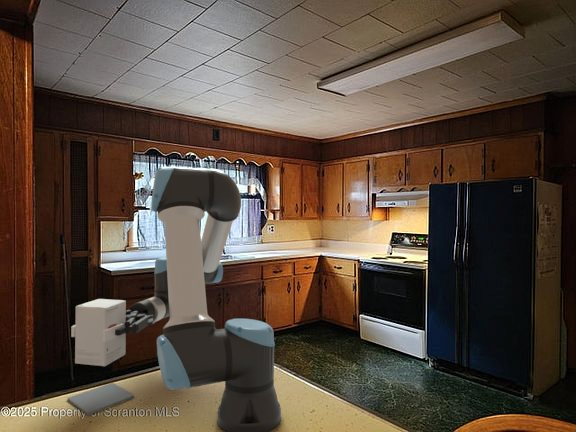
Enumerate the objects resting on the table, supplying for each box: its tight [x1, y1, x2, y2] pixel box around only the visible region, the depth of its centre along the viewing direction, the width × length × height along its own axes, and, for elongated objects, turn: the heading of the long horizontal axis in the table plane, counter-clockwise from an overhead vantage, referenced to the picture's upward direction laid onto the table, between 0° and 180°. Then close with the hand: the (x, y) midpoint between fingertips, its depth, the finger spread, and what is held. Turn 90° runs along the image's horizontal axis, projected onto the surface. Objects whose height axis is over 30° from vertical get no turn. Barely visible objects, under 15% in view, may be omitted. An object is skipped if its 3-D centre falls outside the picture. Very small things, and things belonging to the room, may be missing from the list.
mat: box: [67, 382, 136, 416], centre depth 103 cm, size 12×12×1 cm
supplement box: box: [74, 298, 127, 367], centre depth 103 cm, size 9×9×15 cm
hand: (87, 333), depth 99 cm, fingers closed on supplement box, 9 cm apart
